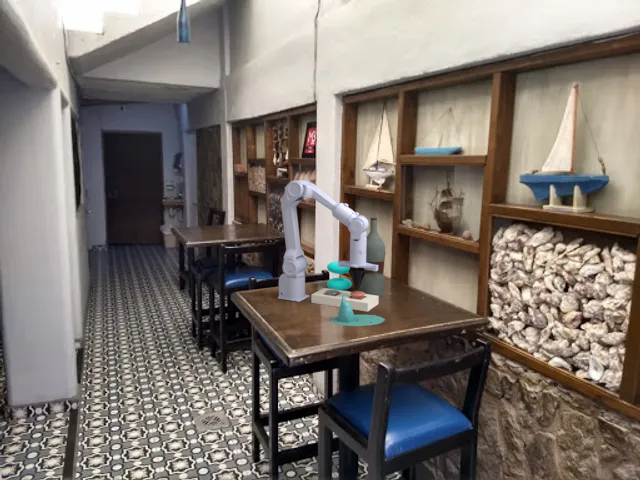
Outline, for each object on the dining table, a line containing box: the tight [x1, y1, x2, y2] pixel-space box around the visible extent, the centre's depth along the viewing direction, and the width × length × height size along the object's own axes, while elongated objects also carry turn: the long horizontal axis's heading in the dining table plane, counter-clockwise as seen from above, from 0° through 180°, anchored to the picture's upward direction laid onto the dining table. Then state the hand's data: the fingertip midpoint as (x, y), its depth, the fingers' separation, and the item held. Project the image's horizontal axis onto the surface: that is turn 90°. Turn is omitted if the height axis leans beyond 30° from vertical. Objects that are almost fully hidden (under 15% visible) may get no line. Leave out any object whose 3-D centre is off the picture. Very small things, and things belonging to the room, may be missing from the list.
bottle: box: [360, 216, 386, 299], centre depth 181 cm, size 9×9×30 cm
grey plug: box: [325, 290, 340, 296], centre depth 176 cm, size 5×5×3 cm
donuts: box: [326, 261, 353, 291], centre depth 194 cm, size 10×10×10 cm
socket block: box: [310, 287, 380, 313], centre depth 174 cm, size 22×10×3 cm, turn 62°
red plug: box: [350, 290, 365, 300], centre depth 171 cm, size 5×5×3 cm
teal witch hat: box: [330, 296, 386, 327], centre depth 155 cm, size 12×20×9 cm, turn 94°
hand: (357, 288), depth 171 cm, fingers closed
